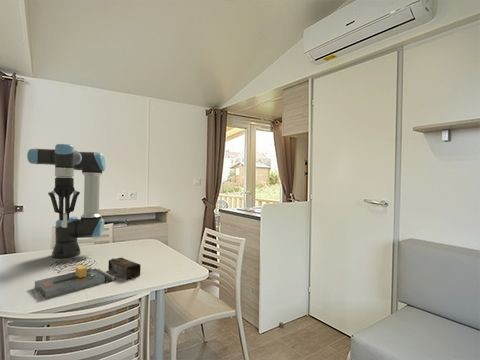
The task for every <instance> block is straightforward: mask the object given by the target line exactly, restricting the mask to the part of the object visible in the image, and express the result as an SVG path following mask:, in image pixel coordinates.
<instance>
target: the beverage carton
mask: <svg viewBox="0 0 480 360" xmlns="http://www.w3.org/2000/svg"><path fill="white" fill-rule="evenodd" d="M107 266H108V267H107V268H108V272H110V273H112V274H114V275H117V276H119V277H121V278H123V279H126V280H129V279H130V280H131V279H133V278H137V277H140V276H141V264H140V263H138V262H135V261H132V260H129V259H126V258H124V257H117V258H111V259H108V265H107Z"/></svg>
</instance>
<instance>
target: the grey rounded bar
mask: <svg viewBox="0 0 480 360" xmlns="http://www.w3.org/2000/svg"><path fill="white" fill-rule="evenodd" d="M92 269H93V270H95V271H96V272H98V273H100V274H102V275H103V276H105V282H111V281H114V280H115V279H116V277H115V276H113V275H112V274H109V273H108V272H106V271H104V270H103V269H100V268H92Z"/></svg>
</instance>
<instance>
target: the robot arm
mask: <svg viewBox="0 0 480 360" xmlns="http://www.w3.org/2000/svg"><path fill="white" fill-rule="evenodd" d="M26 157H27V161H28V162H29V163H30V164H31V165H49V166H54V177H55V178H54V188H53V190H51V191H48V193H47V194H48V196H49V198H50V201H51V204H52V208H53V211H54V213H57V214H58V219H57V220H56V222H55V227H54V228H55V236H54V237H55V243H54V247H53V249H52V253H51V257H52V258H53V259H69V258H73V257H77V256H79V255H81V247H80V245H79V243H78V239H85V238H92V239H93V238H99V237H100V236H101V235H102V234H103V232H104V227H105V219H104V218H102V215H101V214H100V183H101V181H100V177H101V175H102V174H103V172H104V171H106V159H105V155H103V153H102V152H93V151H77V150H75V147H74V145H73V144H69V143H57V144H55V146H54V149H51V148H30V149H29V150H27V156H26ZM74 171H81V174H82V175H83V176H84V182H83V184H84V186H83V187H84V189H83V213H82V215H81V216H80V219H79V218H78V216H70V213H72V212H74V210H75V208H76V207H75V206H76V203H77V200H78V196H79V195H80V194H81V193H80V191H77V190H76V189H75V187H74V186H75V185H74V184H75V183H74V176H75V175H74V173H75V172H74ZM56 195H57V197H58V202H57V198H56ZM71 195H72V197H71ZM70 199H71V200H70Z"/></svg>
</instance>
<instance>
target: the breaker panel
mask: <svg viewBox="0 0 480 360" xmlns="http://www.w3.org/2000/svg"><path fill="white" fill-rule="evenodd" d="M93 269H94V268H87V276H85V277H81V278H79V277H78V276H76V271H74V272H69V273H65V274H61V275H56V276H52V277H48V278H44V279H43V278H42V279H39V280H35V281H34V289H35V290H36V291H37V292H38V293H39V294H40V295H41V296H42V297H43V298H44V299H45V300H48V299H52V298H55V297H58V296H61V295H65V294H68V293H72V292H76V291H79V290H83V289H87V288H90V287H94V286H97V285H100V284H101V285H102V284H105V282H106V280H105V276H103V275H102V274H100V273H98V272H96V271H95V270H93Z"/></svg>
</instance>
